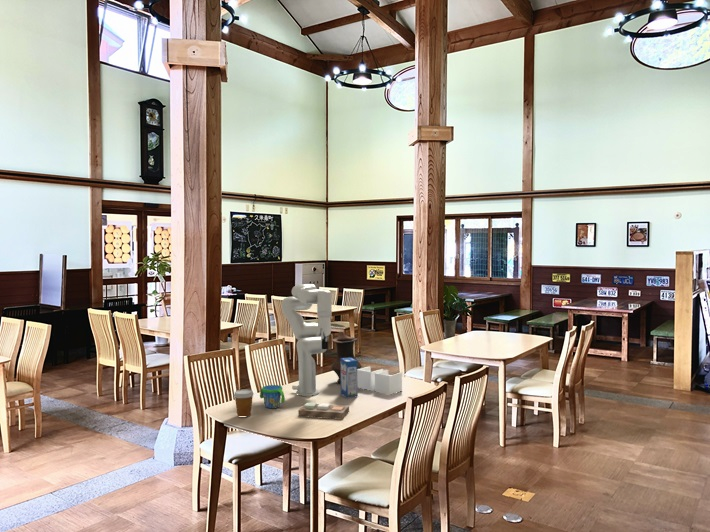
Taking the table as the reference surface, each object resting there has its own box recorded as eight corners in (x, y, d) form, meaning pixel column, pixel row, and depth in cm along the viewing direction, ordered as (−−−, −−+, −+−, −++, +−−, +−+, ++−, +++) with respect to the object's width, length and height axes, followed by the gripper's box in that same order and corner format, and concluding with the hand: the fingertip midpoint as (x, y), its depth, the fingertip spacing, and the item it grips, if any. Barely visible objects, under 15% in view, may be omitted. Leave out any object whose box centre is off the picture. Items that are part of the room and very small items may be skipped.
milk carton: (357, 396, 299) (357, 360, 298) (347, 398, 297) (346, 361, 296) (351, 392, 308) (350, 357, 308) (340, 393, 306) (340, 358, 305)
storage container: (356, 388, 318) (356, 369, 318) (369, 384, 326) (369, 366, 326) (389, 395, 301) (389, 375, 301) (402, 391, 309) (401, 372, 309)
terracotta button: (331, 414, 265) (331, 409, 265) (334, 411, 270) (334, 406, 270) (341, 415, 264) (341, 409, 264) (343, 412, 269) (343, 406, 268)
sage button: (304, 410, 268) (304, 405, 268) (307, 407, 273) (307, 402, 273) (313, 411, 267) (313, 405, 267) (316, 408, 272) (316, 403, 272)
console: (298, 416, 265) (298, 409, 265) (306, 409, 277) (306, 402, 277) (343, 419, 260) (343, 412, 260) (349, 411, 272) (349, 405, 271)
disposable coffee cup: (244, 419, 261) (244, 395, 260) (230, 416, 266) (229, 392, 265) (258, 414, 269) (257, 390, 268) (243, 411, 274) (243, 388, 273)
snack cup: (290, 407, 281) (289, 387, 280) (274, 412, 273) (274, 391, 272) (270, 401, 291) (270, 383, 291) (254, 406, 283) (254, 387, 283)
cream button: (317, 411, 266) (317, 406, 266) (320, 408, 271) (320, 403, 271) (327, 412, 265) (327, 406, 265) (330, 409, 270) (330, 403, 270)
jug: (365, 384, 325) (365, 334, 324) (335, 387, 320) (335, 336, 319) (355, 376, 345) (354, 330, 344) (327, 379, 340) (326, 331, 339)
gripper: (321, 312, 292) (322, 346, 293) (313, 315, 278) (313, 351, 278) (335, 312, 291) (335, 346, 291) (327, 316, 276) (328, 351, 277)
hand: (325, 348), depth 285 cm, fingers closed
